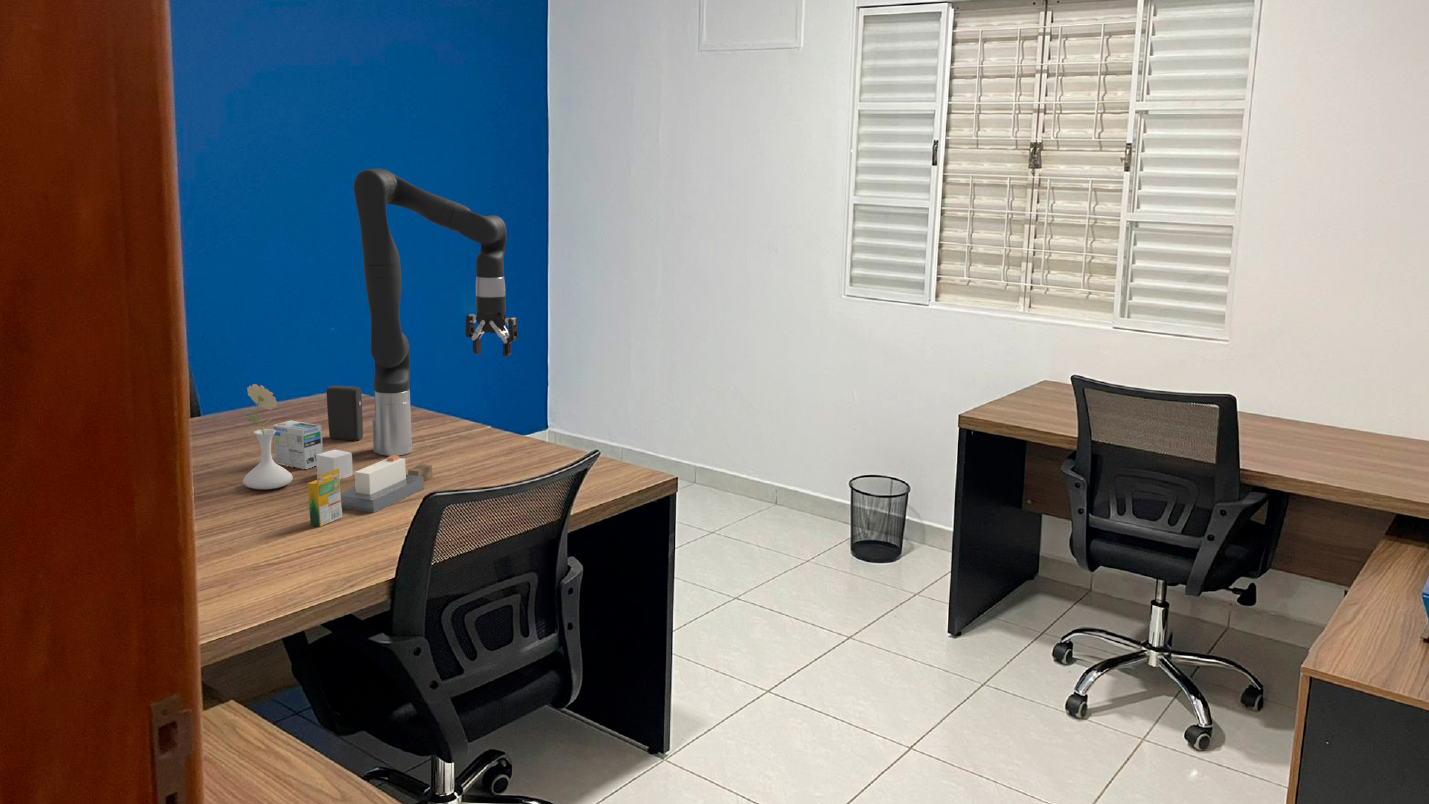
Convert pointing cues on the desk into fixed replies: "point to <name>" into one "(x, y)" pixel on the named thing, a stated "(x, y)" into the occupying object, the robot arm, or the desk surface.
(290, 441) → the light bulb box
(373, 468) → the white plug-in block
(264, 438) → the flower in vase
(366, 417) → the desk surface
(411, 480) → the mounting plate
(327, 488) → the crayon box
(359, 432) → the black upright block
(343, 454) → the white cube
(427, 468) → the walnut stand
